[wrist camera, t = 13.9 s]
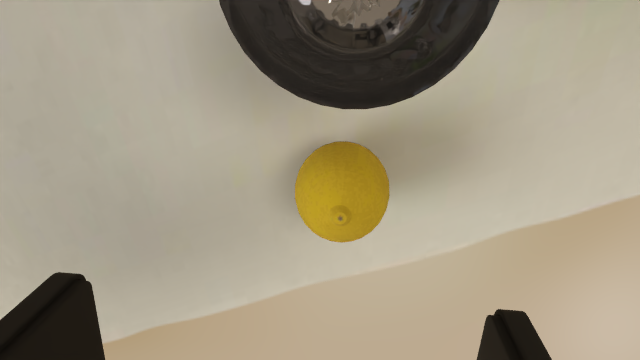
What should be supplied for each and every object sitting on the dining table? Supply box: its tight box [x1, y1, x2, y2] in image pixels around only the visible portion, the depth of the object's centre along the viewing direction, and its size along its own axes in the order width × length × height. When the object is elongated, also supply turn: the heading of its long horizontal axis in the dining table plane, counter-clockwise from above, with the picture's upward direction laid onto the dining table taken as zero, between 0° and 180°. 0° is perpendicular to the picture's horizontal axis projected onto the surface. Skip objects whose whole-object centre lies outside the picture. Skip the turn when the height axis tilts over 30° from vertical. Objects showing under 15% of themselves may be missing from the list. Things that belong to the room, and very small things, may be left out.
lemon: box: [295, 142, 389, 242], centre depth 26 cm, size 6×6×8 cm
